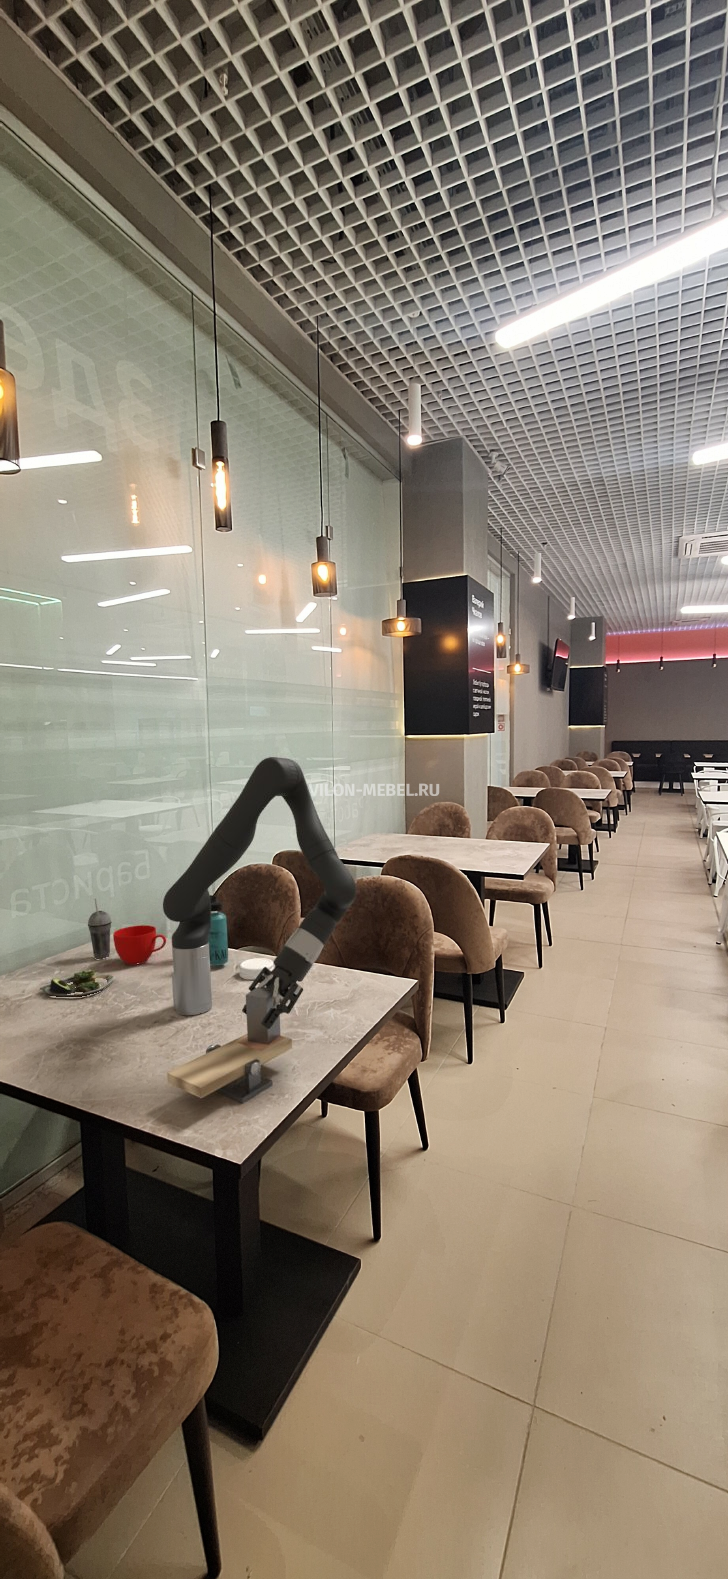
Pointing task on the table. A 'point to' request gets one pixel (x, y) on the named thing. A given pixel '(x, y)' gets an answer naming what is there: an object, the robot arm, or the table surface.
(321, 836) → the robot arm
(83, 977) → the salad plate
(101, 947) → the beverage cup
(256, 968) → the coaster
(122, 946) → the ceramic cup
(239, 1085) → the seesaw stand
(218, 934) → the beverage bottle
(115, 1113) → the table surface
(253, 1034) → the block
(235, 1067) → the seesaw plank
